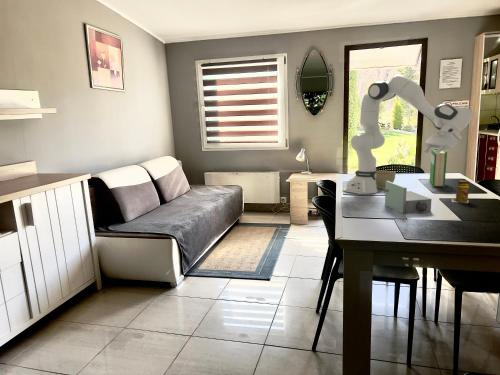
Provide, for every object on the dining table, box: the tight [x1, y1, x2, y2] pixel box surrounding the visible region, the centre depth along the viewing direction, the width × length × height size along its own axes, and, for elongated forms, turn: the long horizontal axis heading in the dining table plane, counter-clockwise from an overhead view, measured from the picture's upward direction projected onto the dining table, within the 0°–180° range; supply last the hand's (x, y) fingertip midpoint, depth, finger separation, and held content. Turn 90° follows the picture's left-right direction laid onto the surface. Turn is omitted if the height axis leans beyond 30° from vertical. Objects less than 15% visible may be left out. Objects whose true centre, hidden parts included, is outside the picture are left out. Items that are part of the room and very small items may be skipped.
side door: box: [384, 181, 408, 215], centre depth 201 cm, size 20×2×14 cm, turn 8°
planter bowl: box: [376, 170, 397, 190], centre depth 255 cm, size 16×16×11 cm
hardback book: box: [429, 148, 448, 188], centre depth 257 cm, size 18×7×24 cm, turn 161°
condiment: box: [451, 179, 470, 204], centre depth 213 cm, size 7×8×12 cm
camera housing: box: [404, 190, 433, 215], centre depth 202 cm, size 22×14×7 cm, turn 8°
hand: (430, 152), depth 199 cm, fingers open, 8 cm apart
